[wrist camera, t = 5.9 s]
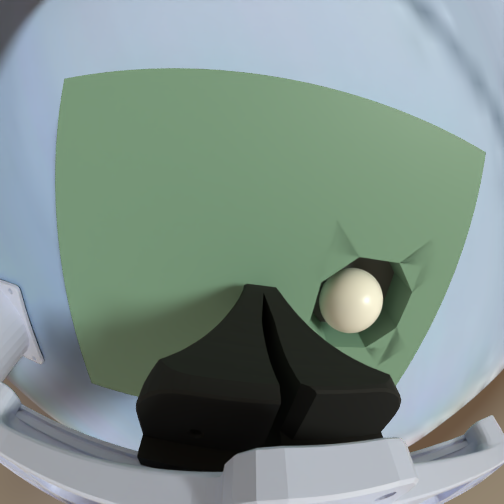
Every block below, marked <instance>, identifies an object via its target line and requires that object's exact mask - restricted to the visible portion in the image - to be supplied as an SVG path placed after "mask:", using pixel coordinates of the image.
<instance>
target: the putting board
mask: <svg viewBox="0 0 504 504" xmlns="http://www.w3.org/2000/svg"><path fill="white" fill-rule="evenodd" d="M485 154H486V152H484V151H482V150H481V149H479V148H477V147H476V146H474V145H472V144H470V143H468V142H467V141H465V140H463V139H461V138H459V137H457V136H455V135H453V134H451V133H449V132H447V131H445V130H443V129H441V128H439V127H437V126H435V125H433V124H430V123H428V122H426V121H424V120H421V119H419V118H417V117H414V116H412V115H410V114H407V113H405V112H402V111H399V110H397V109H394V108H392V107H389V106H386V105H383V104H380V103H378V102H375V101H372V100H369V99H365V98H362V97H359V96H356V95H352V94H349V93H346V92H342V91H338V90H335V89H331V88H327V87H323V86H319V85H314V84H310V83H305V82H300V81H296V80H290V79H285V78H279V77H273V76H267V75H260V74H252V73H244V72H235V71H224V70H209V69H180V68H168V69H139V70H125V71H114V72H105V73H97V74H90V75H84V76H78V77H72V78H67V79H64V84H63V90H62V96H61V103H60V110H59V119H58V129H57V142H56V164H55V193H56V215H57V229H58V239H59V248H60V256H61V263H62V270H63V276H64V282H65V287H66V293H67V298H68V302H69V307H70V311H71V316H72V320H73V324H74V328H75V332H76V335H77V339H78V342H79V346H80V349H81V353H82V356H83V359H84V362H85V365H86V368H87V371H88V374H89V377H90V380H91V382H92V383H93V384H96V385H99V386H102V387H106V388H109V389H112V390H116V391H119V392H123V393H126V394H130V395H134V396H138V397H139V394H140V391H141V389H142V386H143V384H144V382H145V380H146V378H147V377H148V375H149V373H150V372H151V370H152V369H153V367H154V366H155V364H156V363H157V361H158V360H159V359H161V358H164V357H167V356H169V355H172V354H174V353H177V352H179V351H181V350H183V349H185V348H187V347H188V346H190V345H192V344H193V343H195V342H197V341H198V340H200V339H201V338H202V337H204V336H205V335H206V334H208V333H209V332H210V331H211V330H212V329H214V328H215V327H216V326H217V325H218V324H219V323H220V322H221V321H222V320H223V319H224V318H225V316H226V315H227V314H228V313H229V312H230V310H231V309H232V308H233V306H234V305H235V303H236V302H237V300H238V299H239V297H240V295H241V293H242V291H243V286H244V285H245V284H254V285H262V286H270V287H276V288H277V289H278V290H279V292H280V293H281V294H282V296H283V297H284V298H285V300H286V301H287V302H288V304H289V305H290V306H291V307H292V308H293V310H294V311H295V312H296V313H297V314H298V315H299V316H300V318H301V319H302V320H303V321H304V322H305V323H306V324H307V325H308V326H309V327H310V328H311V329H312V330H313V331H315V332H316V333H317V334H318V335H319V336H321V337H322V338H323V339H324V340H326V341H327V342H328V343H330V344H331V345H332V346H334V347H335V348H337V349H338V350H340V351H341V352H343V353H345V354H346V355H348V356H350V357H351V358H353V359H355V360H357V361H359V362H361V363H363V364H365V365H367V366H370V367H372V368H374V369H377V370H379V371H382V372H384V373H387V374H390V376H391V378H392V380H393V382H394V384H395V386H396V385H397V383H398V382H399V380H400V378H401V377H402V375H403V374H404V372H405V370H406V369H407V367H408V366H409V364H410V362H411V361H412V359H413V357H414V355H415V354H416V352H417V350H418V348H419V347H420V345H421V343H422V341H423V339H424V337H425V336H426V334H427V332H428V330H429V328H430V326H431V324H432V322H433V320H434V318H435V316H436V314H437V312H438V309H439V307H440V305H441V303H442V301H443V298H444V296H445V294H446V291H447V289H448V287H449V284H450V282H451V279H452V277H453V274H454V272H455V269H456V266H457V264H458V261H459V258H460V255H461V253H462V250H463V247H464V244H465V240H466V237H467V234H468V231H469V227H470V224H471V220H472V217H473V213H474V209H475V205H476V201H477V197H478V192H479V188H480V183H481V178H482V172H483V167H484V161H485ZM346 268H358V269H362V270H365V271H366V272H368V273H370V274H371V275H372V276H373V277H374V278H375V279H376V280H377V282H378V283H379V285H380V287H381V290H382V294H383V305H382V309H381V312H380V314H379V316H378V318H377V319H376V321H375V322H374V323H373V324H372V325H371V326H370V327H368V328H367V329H365V330H363V331H360V332H357V333H344V332H340V331H338V330H336V329H334V328H332V327H331V326H330V325H329V324H328V323H327V322H326V321H325V319H324V318H323V316H322V314H321V311H320V307H319V297H320V292H321V289H322V287H323V285H324V283H325V282H326V280H327V279H328V278H329V277H330V276H332V275H333V274H335V273H337V272H338V271H340V270H342V269H346Z"/></svg>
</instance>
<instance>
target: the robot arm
mask: <svg viewBox="0 0 504 504" xmlns="http://www.w3.org/2000/svg"><path fill="white" fill-rule="evenodd" d="M22 356H24V357H26V358H28V359H30V360H32V361H34V362H36V363H39V364H43V362H44V359H43V356H42V354H41V352H40V349H39V346H38V344H37V341H36V338H35V336H34V333H33V330H32V327H31V324H30V321H29V318H28V315H27V312H26V308H25V305H24V301H23V298H22V294H21V291H20V289H19V287H18V286H17V285H14V284H12V283H9V282H6V281H3V280H0V463H1V464H3V465H4V466H5V467H7V468H8V469H9V470H11V471H12V472H14V473H15V474H17V475H18V476H20V477H21V478H23V479H24V480H26V481H27V482H29V483H30V484H32V485H34V486H35V487H37V488H38V489H40V490H42V491H43V492H45V493H47V494H49V495H51V496H52V497H54V498H56V499H58V500H59V501H61V502H63V503H65V504H443V503H445V502H447V501H449V500H451V499H453V498H455V497H457V496H458V495H460V494H462V493H464V492H466V491H467V490H469V489H471V488H473V487H474V486H475V485H477V484H478V483H480V482H481V481H483V480H484V479H485V478H487V477H488V476H489V475H491V474H492V473H493V472H494V471H496V470H497V469H498V468H499V467H500V466H502V465H503V464H504V434H503V432H502V430H501V429H500V427H499V425H498V423H497V422H496V420H495V418H494V417H493V415H491V416H489V417H487V418H484V419H482V420H480V421H478V422H476V423H475V424H473V425H472V426H471V427H470V428H469V429H468V430H467V431H466V433H465V434H464V435H462V436H460V437H457V438H454V439H451V440H449V441H446V442H443V443H440V444H437V445H434V446H431V447H428V448H425V449H421V450H418V451H414V452H411V453H409V450H408V447H407V445H406V443H405V442H404V441H403V439H402V438H383V436H382V433H381V431H382V430H383V429H384V428H385V426H386V425H387V424H388V423H389V422H390V420H391V419H392V418H393V417H394V415H395V414H396V412H397V411H398V409H399V407H400V403H401V398H400V394H399V392H398V390H397V388H396V386H395V384H394V382H393V380H392V378H391V376H390V374H387V373H384V372H382V371H379V370H377V369H374V368H372V367H370V366H367V365H365V364H363V363H361V362H359V361H357V360H355V359H353V358H351V357H350V356H348V355H346V354H345V353H343V352H341V351H340V350H338V349H337V348H335V347H334V346H332V345H331V344H330V343H328V342H327V341H326V340H324V339H323V338H322V337H321V336H319V335H318V334H317V333H316V332H315V331H313V330H312V329H311V328H310V327H309V326H308V325H307V324H306V323H305V322H304V321H303V320H302V319H301V318H300V316H299V315H298V314H297V313H296V312H295V311H294V310H293V308H292V307H291V306H290V305H289V304H288V302H287V301H286V300H285V298H284V297H283V296H282V294H281V293H280V292H279V290H278V289H277V288H276V287H270V286H262V285H254V284H245V285H244V286H243V291H242V293H241V295H240V297H239V299H238V300H237V302H236V303H235V305H234V306H233V308H232V309H231V310H230V312H229V313H228V314H227V315H226V316H225V318H224V319H223V320H222V321H221V322H220V323H219V324H218V325H217V326H216V327H215V328H214V329H212V330H211V331H210V332H209V333H208V334H206V335H205V336H204V337H202V338H201V339H200V340H198V341H197V342H195V343H193V344H192V345H190V346H188V347H187V348H185V349H183V350H181V351H179V352H177V353H174V354H172V355H169V356H167V357H164V358H161V359H159V360H158V361H157V363H156V364H155V366H154V367H153V369H152V370H151V372H150V373H149V375H148V377H147V378H146V380H145V382H144V384H143V386H142V389H141V391H140V394H139V397H138V400H137V403H136V412H137V415H138V419H139V422H140V426H141V429H142V432H143V437H142V440H141V444H140V447H139V451H135V450H131V449H127V448H124V447H121V446H118V445H114V444H111V443H108V442H105V441H102V440H100V439H97V438H94V437H91V436H89V435H86V434H84V433H81V432H79V431H76V430H74V429H71V428H69V427H67V426H64V425H62V424H60V423H58V422H56V421H53V420H51V419H49V418H47V417H45V416H43V415H41V414H39V413H37V412H35V411H34V410H32V409H30V408H28V407H26V406H24V405H23V404H21V401H20V399H19V397H18V396H17V395H16V393H15V392H14V391H13V390H12V389H11V388H10V387H9V386H8V385H6V384H4V383H3V381H4V379H5V378H6V377H7V375H8V374H9V373H10V371H11V370H12V369H13V367H14V366H15V365H16V363H17V362H18V361H19V360H20V358H21V357H22Z"/></svg>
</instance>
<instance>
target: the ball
mask: <svg viewBox="0 0 504 504" xmlns="http://www.w3.org/2000/svg"><path fill="white" fill-rule="evenodd" d="M382 305H383V294H382V290H381V287H380V285H379V283H378V282H377V280H376V279H375V278H374V277H373V276H372V275H371V274H370V273H368V272H366V271H365V270H362V269H358V268H346V269H342V270H340V271H338V272H337V273H335V274H333V275H332V276H330V277H329V278H328V279H327V280H326V282H325V283H324V285H323V287H322V289H321V292H320V297H319V307H320V311H321V314H322V316H323V318H324V319H325V321H326V322H327V323H328V324H329V325H330V326H331V327H332V328H334V329H336V330H338V331H340V332H344V333H357V332H360V331H363V330H365V329H367V328H368V327H370V326H371V325H372V324H373V323H374V322H375V321H376V319H377V318H378V316H379V314H380V312H381V309H382Z"/></svg>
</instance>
